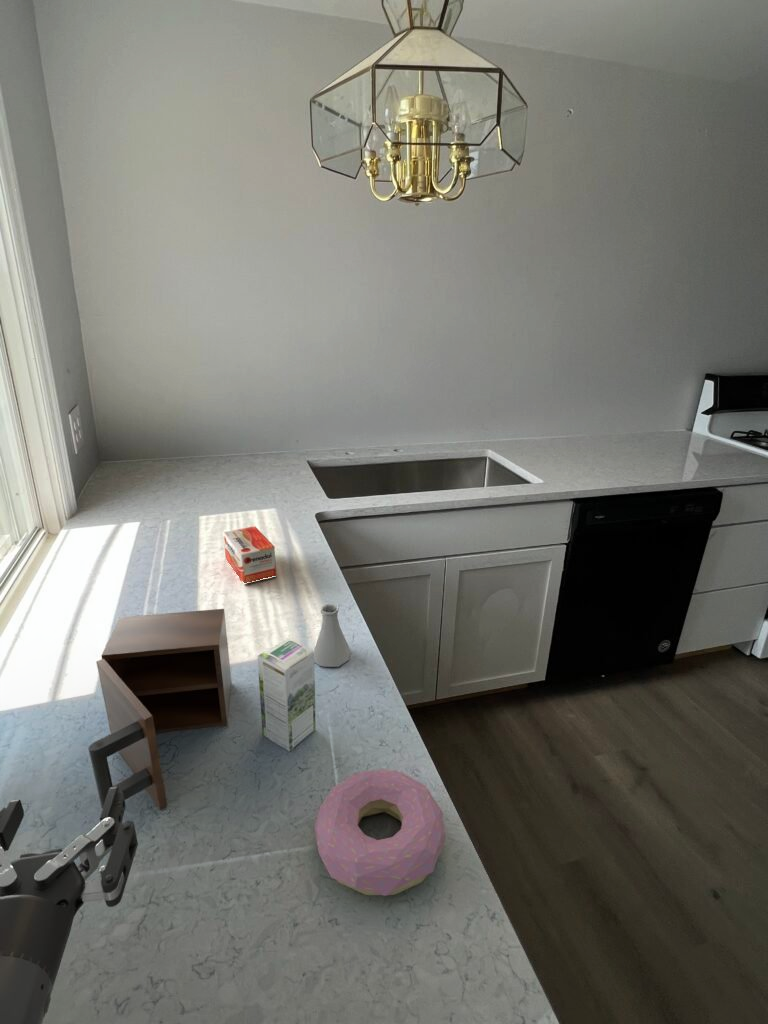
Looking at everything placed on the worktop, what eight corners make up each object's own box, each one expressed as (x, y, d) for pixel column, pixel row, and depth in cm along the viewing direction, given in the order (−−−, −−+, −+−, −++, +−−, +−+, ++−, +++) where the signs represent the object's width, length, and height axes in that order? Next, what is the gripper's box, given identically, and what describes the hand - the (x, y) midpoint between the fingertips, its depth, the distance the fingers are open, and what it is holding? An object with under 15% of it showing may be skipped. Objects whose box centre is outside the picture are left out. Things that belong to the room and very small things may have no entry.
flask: (340, 672, 97) (340, 622, 93) (303, 663, 99) (301, 614, 96) (356, 649, 103) (356, 602, 100) (321, 641, 106) (320, 595, 102)
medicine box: (225, 560, 137) (222, 531, 134) (256, 554, 141) (254, 524, 138) (243, 586, 125) (241, 554, 122) (278, 578, 129) (276, 547, 126)
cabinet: (227, 726, 84) (218, 644, 79) (117, 739, 81) (101, 655, 76) (231, 684, 93) (224, 608, 88) (133, 694, 91) (119, 617, 85)
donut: (470, 857, 65) (473, 826, 63) (361, 937, 57) (361, 903, 55) (392, 771, 77) (393, 742, 75) (292, 826, 68) (290, 796, 67)
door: (112, 839, 66) (92, 745, 61) (69, 765, 77) (48, 680, 71) (167, 805, 71) (152, 715, 66) (119, 740, 81) (103, 658, 76)
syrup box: (289, 714, 87) (284, 635, 82) (317, 730, 84) (314, 649, 78) (262, 736, 82) (255, 653, 77) (290, 754, 79) (285, 669, 74)
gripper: (92, 940, 38) (141, 758, 53) (-150, 985, 35) (-27, 780, 50) (110, 1008, 41) (152, 817, 55) (-114, 1054, 38) (-7, 840, 53)
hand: (67, 799), depth 53 cm, fingers open, 8 cm apart
